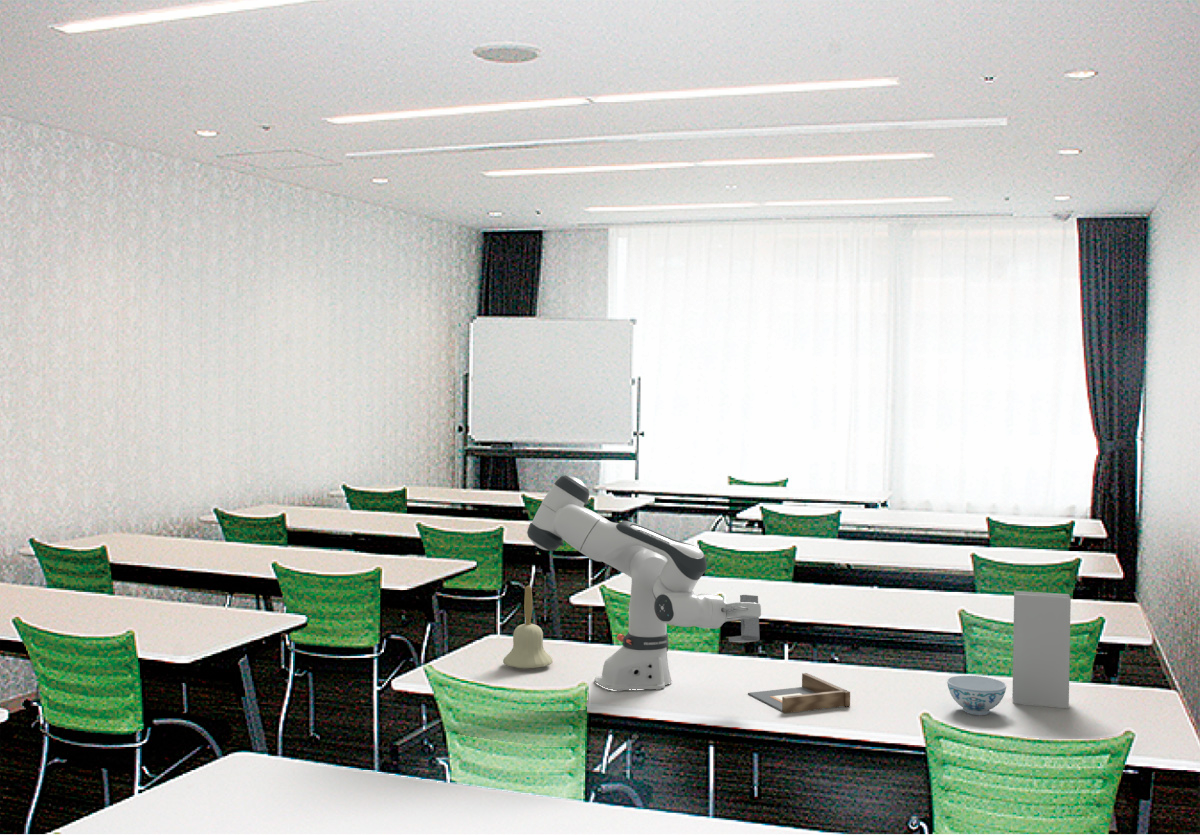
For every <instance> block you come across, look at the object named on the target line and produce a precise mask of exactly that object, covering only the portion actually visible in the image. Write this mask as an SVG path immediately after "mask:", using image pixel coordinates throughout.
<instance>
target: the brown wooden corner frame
mask: <svg viewBox="0 0 1200 835" xmlns="http://www.w3.org/2000/svg"><path fill="white" fill-rule="evenodd" d="M801 687H804V688H807V689H809V690H811V691H813V692H815V693H813V694H803V695H794V696H785V697H782V711H781V712H782V713H783V714H791V713H799V712H808V710H810V711H815V710H814V709H818V710H823V709H822V708H827V709H832V708H831V707H835V708H840V707H839V706H846V707H845V708H848V707H847V706H850V707H851V691H849V690H846V689H845V688H842V687H840V686H837V685H836V684H833V683H830V682H829V681H826V680H824V679H822V678H819V677H817V676H814V675H812V674H809V673H808V672H805V673H803V672H802V673H801Z"/></svg>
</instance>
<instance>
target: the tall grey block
mask: <svg viewBox="0 0 1200 835" xmlns="http://www.w3.org/2000/svg"><path fill="white" fill-rule="evenodd" d="M1071 606H1072V605H1071V597H1070V594H1068V593H1053V592H1052V593H1050V592H1035V591H1023V590H1022V591H1021V590H1014V591H1013V636H1012V637H1013V639H1012V640H1013V641H1012V642H1013V644H1012V646H1013V647H1012V693H1011V694H1012V704H1013V705H1014V704H1015V705H1027V706H1036V707H1037V706H1038V707H1047V708H1048V707H1050V708H1060V709H1070V665H1071V664H1070V658H1071V657H1070V655H1071V654H1070V653H1071V650H1070V649H1071Z"/></svg>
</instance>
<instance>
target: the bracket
mask: <svg viewBox="0 0 1200 835" xmlns="http://www.w3.org/2000/svg"><path fill="white" fill-rule="evenodd" d="M739 602H749V603H759V596H758V595H749V594H740V595H739ZM740 632H741V633H740V634H741V635H735V636H728V642H730V643H750V642H751V643H752V642H758V641H759V642H760V617H756V618H749V619H741V620H740Z"/></svg>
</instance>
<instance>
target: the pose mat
mask: <svg viewBox="0 0 1200 835" xmlns="http://www.w3.org/2000/svg"><path fill="white" fill-rule="evenodd" d="M813 693H815V692H813V691H811V690H809V689H807V688H804V687H802V686H799V687H790V688H780V689H779V688H778V689H771V690H762V691H753V692H747V695H749V696H751V697H752V698H754V699H757V700H759V701H761V702H762V703H764V704H766V705H769V707H772V708H774V709H776V710H778V711H780V712H782V697H785V696H794V695H803V694H813Z"/></svg>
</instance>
